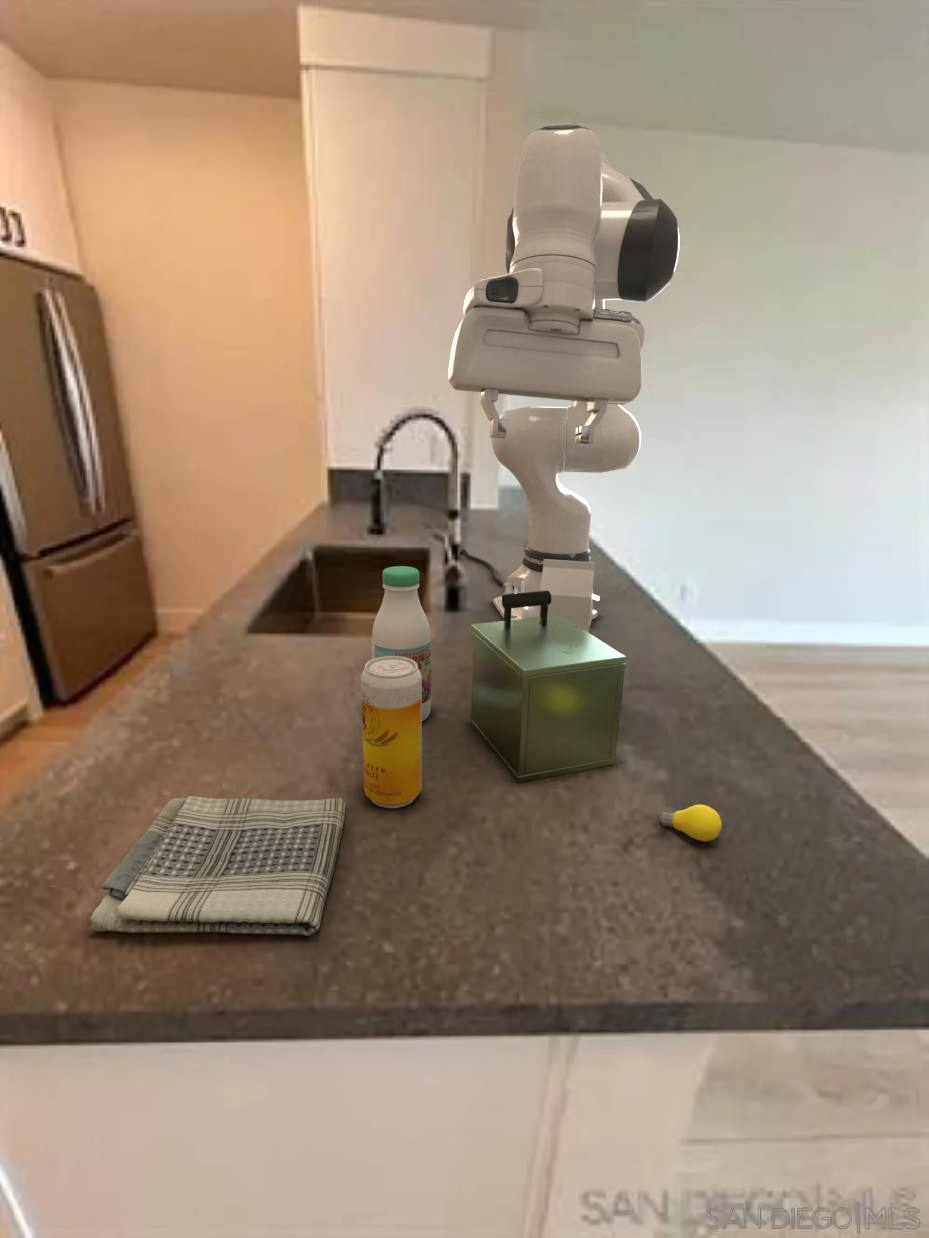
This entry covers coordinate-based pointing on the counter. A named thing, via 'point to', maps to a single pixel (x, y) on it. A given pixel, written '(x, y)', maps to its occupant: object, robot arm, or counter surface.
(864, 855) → the counter surface
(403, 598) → the milk bottle
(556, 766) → the olive green box
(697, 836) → the light bulb
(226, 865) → the dish towel
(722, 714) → the counter surface
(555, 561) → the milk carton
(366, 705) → the beer can
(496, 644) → the green panel
